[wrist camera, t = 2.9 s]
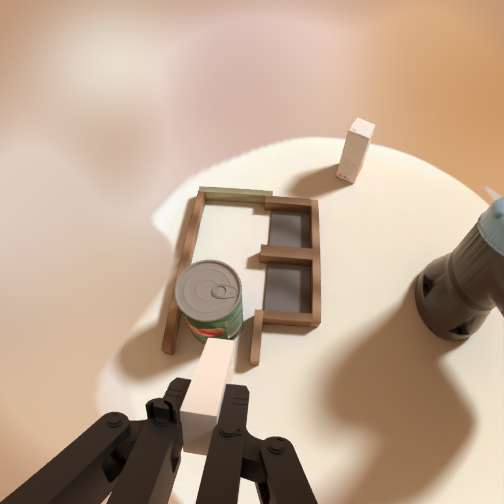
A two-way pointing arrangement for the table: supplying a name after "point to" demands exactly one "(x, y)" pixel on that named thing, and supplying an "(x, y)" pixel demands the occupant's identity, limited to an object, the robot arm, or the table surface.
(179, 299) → the canned tomato
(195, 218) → the wooden rail frame
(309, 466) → the table surface
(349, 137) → the skincare box
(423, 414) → the table surface
